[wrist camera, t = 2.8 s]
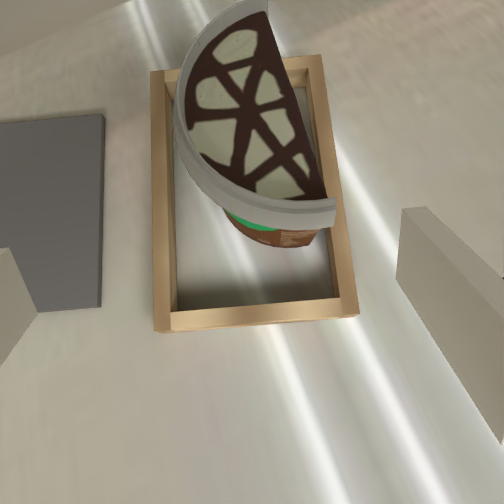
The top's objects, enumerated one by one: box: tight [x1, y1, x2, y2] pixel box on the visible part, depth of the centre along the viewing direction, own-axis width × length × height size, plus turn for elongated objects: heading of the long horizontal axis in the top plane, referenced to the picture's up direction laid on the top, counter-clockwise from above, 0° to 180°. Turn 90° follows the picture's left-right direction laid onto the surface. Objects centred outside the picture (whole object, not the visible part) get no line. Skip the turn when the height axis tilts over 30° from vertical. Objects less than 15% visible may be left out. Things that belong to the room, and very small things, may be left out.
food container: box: [174, 0, 337, 248], centre depth 23 cm, size 12×6×10 cm, turn 14°
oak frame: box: [150, 54, 360, 333], centre depth 27 cm, size 12×18×2 cm, turn 5°
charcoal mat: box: [0, 114, 105, 313], centre depth 28 cm, size 12×14×1 cm
